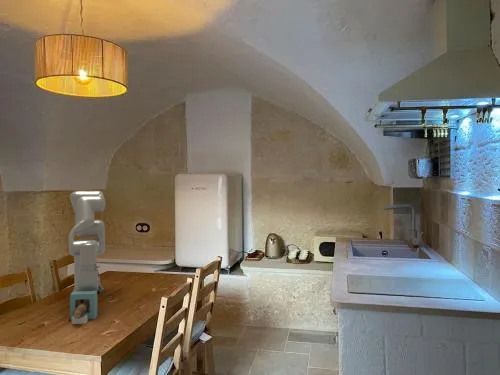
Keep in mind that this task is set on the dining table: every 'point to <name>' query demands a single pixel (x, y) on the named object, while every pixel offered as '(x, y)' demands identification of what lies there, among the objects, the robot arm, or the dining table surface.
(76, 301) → the teal square frame
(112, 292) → the dining table surface
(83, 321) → the block
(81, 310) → the dowel
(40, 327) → the dining table surface
